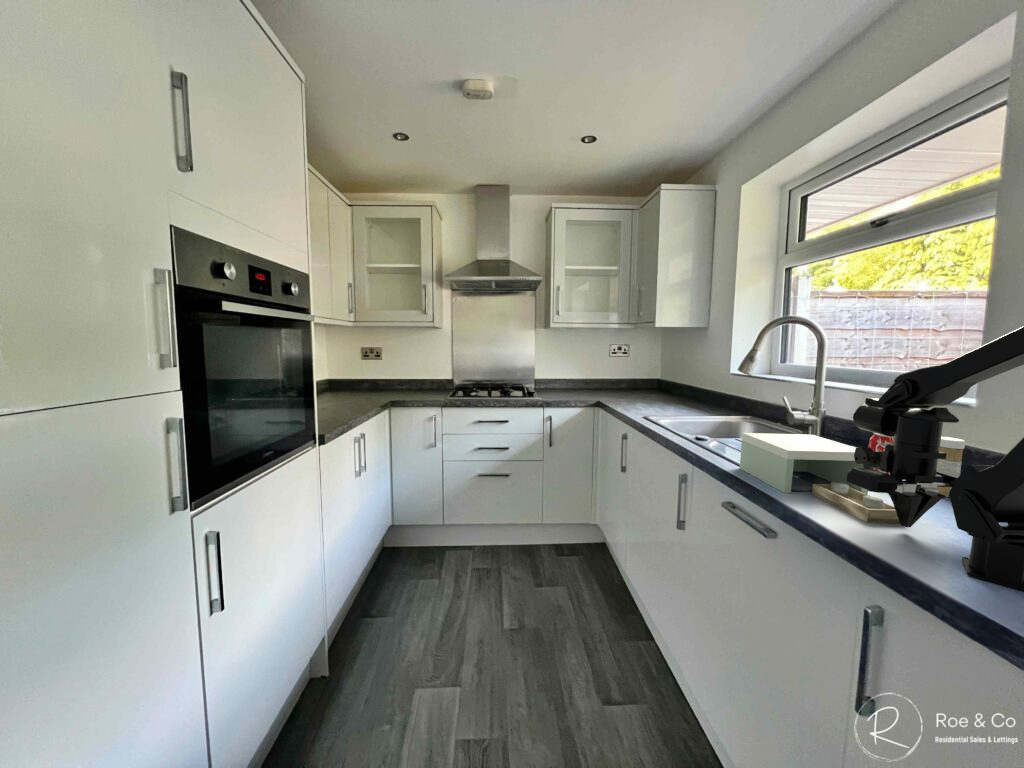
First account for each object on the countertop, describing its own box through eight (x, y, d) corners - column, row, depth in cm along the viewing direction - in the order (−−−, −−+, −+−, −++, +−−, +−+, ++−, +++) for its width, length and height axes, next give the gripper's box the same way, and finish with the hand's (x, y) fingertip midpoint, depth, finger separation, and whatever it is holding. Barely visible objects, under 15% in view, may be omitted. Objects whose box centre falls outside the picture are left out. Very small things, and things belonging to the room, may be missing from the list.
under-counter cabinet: (867, 495, 89) (872, 452, 88) (784, 492, 89) (788, 450, 88) (808, 470, 107) (812, 434, 106) (739, 468, 107) (742, 432, 106)
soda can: (910, 485, 96) (916, 438, 95) (877, 483, 97) (882, 436, 96) (889, 476, 103) (894, 432, 102) (858, 474, 104) (863, 430, 103)
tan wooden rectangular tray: (903, 523, 74) (905, 505, 74) (866, 522, 75) (869, 504, 74) (842, 495, 88) (844, 480, 88) (812, 494, 88) (813, 479, 88)
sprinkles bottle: (931, 489, 93) (939, 435, 92) (960, 496, 89) (968, 439, 88) (925, 493, 91) (932, 437, 90) (954, 499, 87) (962, 441, 86)
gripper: (922, 433, 77) (912, 509, 79) (827, 431, 77) (819, 506, 79) (990, 449, 66) (976, 536, 68) (879, 446, 66) (868, 533, 68)
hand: (905, 526), depth 71 cm, fingers closed
